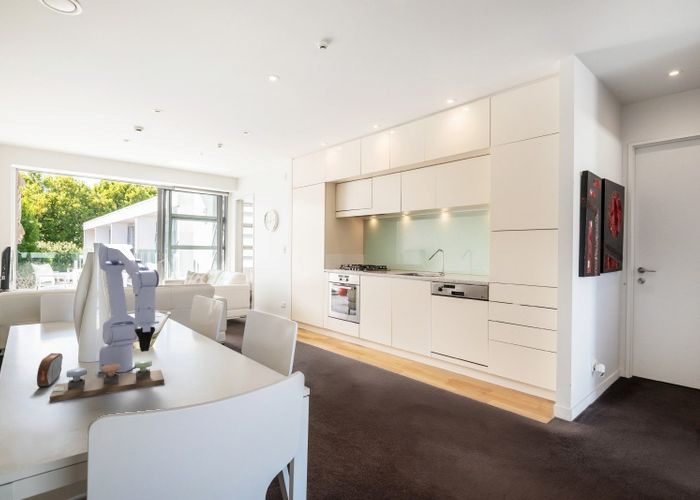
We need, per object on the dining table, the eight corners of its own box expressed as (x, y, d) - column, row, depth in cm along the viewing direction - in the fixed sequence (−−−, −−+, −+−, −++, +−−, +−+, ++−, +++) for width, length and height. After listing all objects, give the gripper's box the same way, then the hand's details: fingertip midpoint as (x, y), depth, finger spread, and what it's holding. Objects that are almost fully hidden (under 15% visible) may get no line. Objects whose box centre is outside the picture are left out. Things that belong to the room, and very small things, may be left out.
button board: (49, 402, 102) (49, 389, 102) (55, 389, 111) (55, 378, 111) (164, 383, 116) (164, 373, 116) (160, 374, 126) (160, 364, 126)
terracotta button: (101, 379, 110) (101, 369, 110) (102, 375, 114) (102, 365, 115) (120, 377, 113) (120, 367, 113) (120, 372, 117) (120, 363, 117)
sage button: (134, 375, 115) (134, 365, 115) (134, 370, 119) (134, 361, 119) (152, 372, 117) (152, 362, 117) (151, 368, 122) (151, 359, 122)
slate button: (65, 384, 106) (65, 374, 106) (67, 380, 110) (67, 369, 110) (86, 381, 108) (86, 371, 108) (87, 377, 113) (87, 367, 113)
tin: (52, 375, 124) (52, 350, 124) (63, 374, 125) (64, 349, 125) (35, 391, 110) (35, 362, 110) (48, 389, 111) (48, 361, 111)
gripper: (161, 309, 115) (161, 354, 115) (157, 304, 128) (156, 344, 127) (135, 311, 112) (134, 357, 111) (133, 306, 124) (132, 347, 124)
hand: (144, 351), depth 119 cm, fingers closed
